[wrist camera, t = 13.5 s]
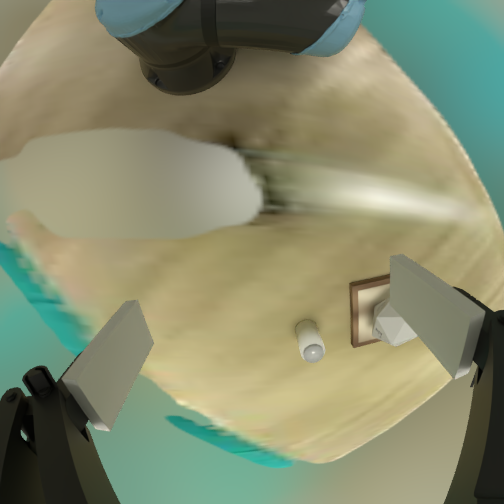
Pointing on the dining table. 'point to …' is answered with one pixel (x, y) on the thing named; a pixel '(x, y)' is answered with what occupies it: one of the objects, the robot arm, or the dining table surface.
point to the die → (390, 325)
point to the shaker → (309, 341)
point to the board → (366, 307)
